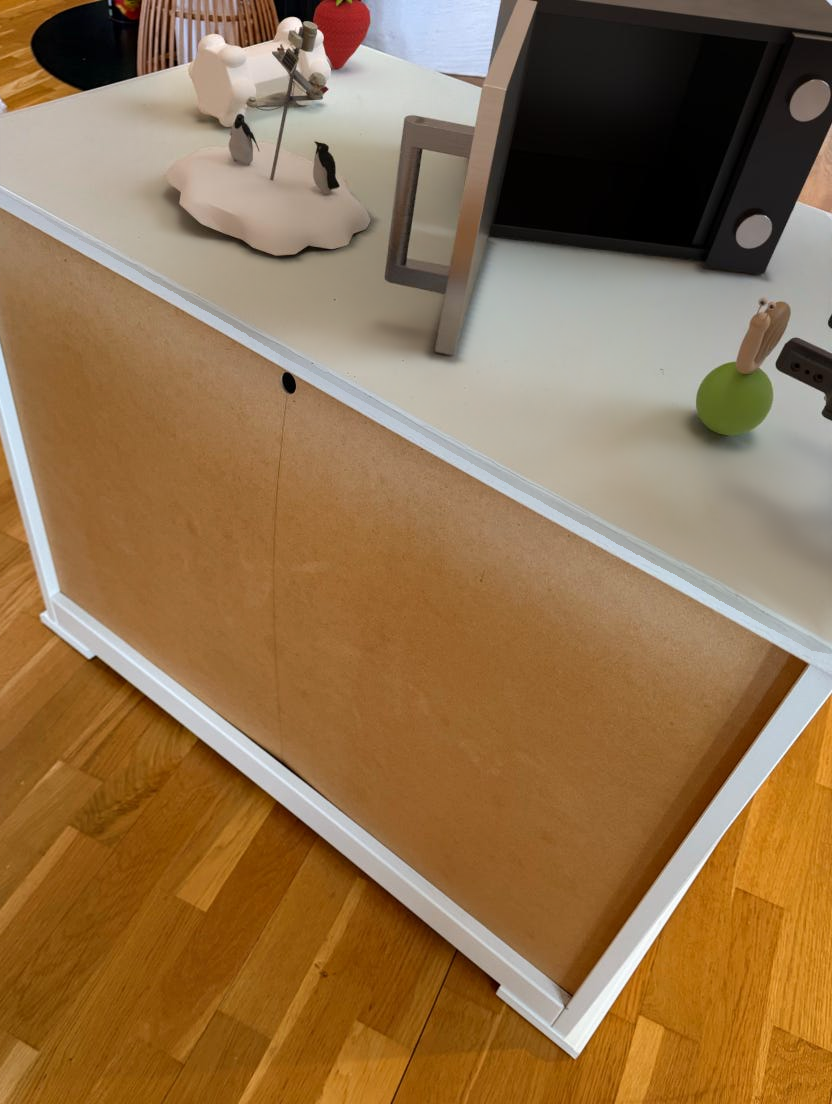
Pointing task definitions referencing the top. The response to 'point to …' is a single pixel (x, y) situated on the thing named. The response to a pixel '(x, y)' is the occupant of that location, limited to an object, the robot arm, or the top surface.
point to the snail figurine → (744, 377)
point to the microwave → (666, 125)
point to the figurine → (272, 179)
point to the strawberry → (342, 28)
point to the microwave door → (480, 186)
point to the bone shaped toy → (249, 72)
